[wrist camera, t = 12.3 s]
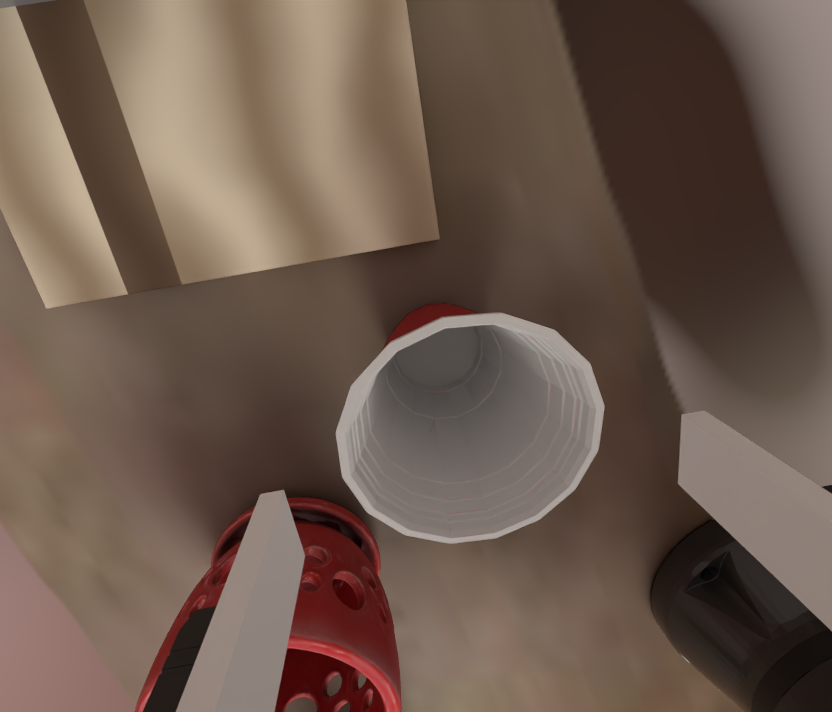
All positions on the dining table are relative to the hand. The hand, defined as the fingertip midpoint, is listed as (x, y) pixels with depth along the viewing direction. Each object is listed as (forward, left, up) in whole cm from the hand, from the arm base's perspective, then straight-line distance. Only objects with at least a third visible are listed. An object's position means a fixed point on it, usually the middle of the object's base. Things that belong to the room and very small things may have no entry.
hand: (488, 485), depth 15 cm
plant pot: (+12, +14, -15) cm, 24 cm away
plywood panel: (+10, -17, -15) cm, 24 cm away
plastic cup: (0, 0, -15) cm, 15 cm away
